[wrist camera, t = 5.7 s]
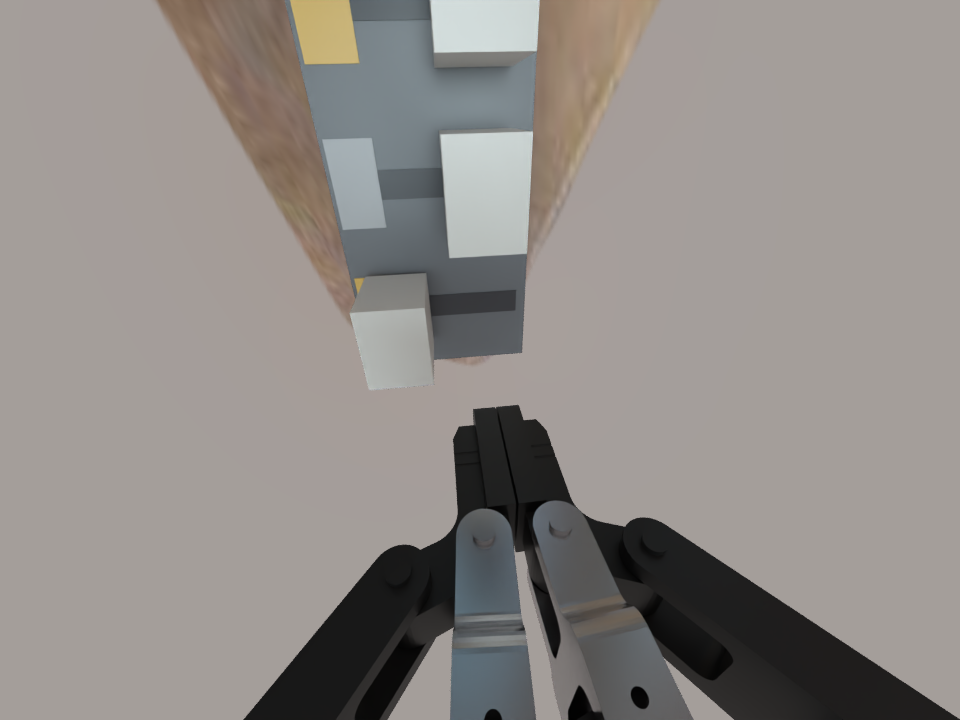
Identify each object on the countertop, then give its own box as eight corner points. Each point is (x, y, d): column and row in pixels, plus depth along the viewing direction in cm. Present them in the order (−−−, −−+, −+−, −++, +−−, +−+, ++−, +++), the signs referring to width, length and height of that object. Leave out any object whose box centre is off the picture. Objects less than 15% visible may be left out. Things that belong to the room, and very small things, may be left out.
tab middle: (446, 230, 17) (449, 258, 14) (438, 130, 15) (440, 134, 12) (509, 227, 17) (526, 253, 14) (511, 127, 15) (533, 131, 12)
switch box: (395, 269, 34) (370, 365, 21) (350, -12, 24) (243, -170, 11) (489, 263, 35) (522, 353, 22) (486, -12, 24) (547, -163, 11)
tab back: (379, 345, 20) (369, 390, 17) (365, 276, 18) (349, 312, 15) (433, 341, 20) (433, 385, 17) (426, 272, 18) (424, 307, 15)
